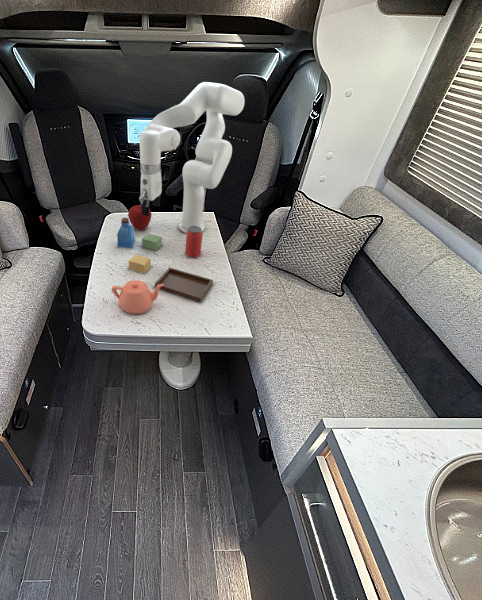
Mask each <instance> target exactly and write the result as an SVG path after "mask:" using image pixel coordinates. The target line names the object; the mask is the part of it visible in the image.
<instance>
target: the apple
mask: <svg viewBox="0 0 482 600" xmlns="http://www.w3.org/2000/svg"><path fill="white" fill-rule="evenodd" d="M152 216H153V215H152V211H151V209H150V208H149V216H145V215H142V212H141V204H137V205H134V206H131V208H129V210H128V213H127V218H128V219H129V220H128V221H129V223H130V225H131V226H132V227H133V228H134V230H135V229H136V231H143V230H145V229H147V228H148V227H149V225H150V223H151V221H152Z"/></svg>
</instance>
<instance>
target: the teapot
mask: <svg viewBox="0 0 482 600" xmlns="http://www.w3.org/2000/svg"><path fill="white" fill-rule="evenodd" d="M163 285H164V284H159V285H157V286H156V288H155V287H154V291H153V292H152V291H151V289H150V288H149V286H148V284H146V283H145V282H144V281H142V280H139V279H133V280H129V281H127V282H126V283H125V284H124V285H123V286H119V285H113V286H112V287H111V291H112V293H113V295H114V296H115V297H116V298H117V299H118V306H119V307H120V309H122V310H123V311H124V312H126V313H127V314H132V315H133V314H134V315H138V314H139V315H140V314H143V313H146V312H147V311H149V309H150V308H151V307H152V305H153V304H154V303H153V302H155V301H156V300H157V299H158V297H159V293H160V290H159V289H160V287H162V286H163ZM118 291H120V292H119V293H118Z"/></svg>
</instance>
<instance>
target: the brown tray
mask: <svg viewBox="0 0 482 600" xmlns="http://www.w3.org/2000/svg"><path fill="white" fill-rule="evenodd" d="M159 284H164V285H163V286H162V287H160V289H159V291H163V292H166V293H169V294H172V295H176V296H178V297H182V298H185V299H188V300H191V301H195V302H197V303H202V302H203V299H204V298H205V297H206V295H207V293H208V292H209V291H210V289H211V288H212V286H213V285H214V279H211V278H207V277H204V276H200V275H197V274H195V273H191V272H188V271H183V270H180V269H177V268H173V267H170V266H169V267H168V268H167V269H166V271H164V273H162V275H161V276H160V277H159V278H158V279H157V280H156V282H155V283H154V289H155V288H156V286H157V285H159Z"/></svg>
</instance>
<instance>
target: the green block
mask: <svg viewBox="0 0 482 600" xmlns="http://www.w3.org/2000/svg"><path fill="white" fill-rule="evenodd" d="M162 245H163V236H159V235H156V234H151V233H147V234H146V235H145V236H143V237H142V239H141V246H142V248H146V249H149V250H152V251H157V250H158V249H160V247H161V246H162Z"/></svg>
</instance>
